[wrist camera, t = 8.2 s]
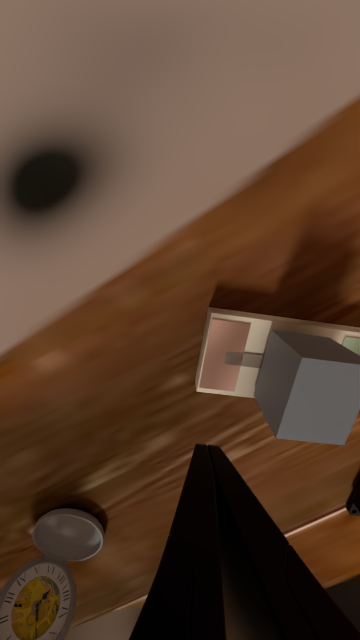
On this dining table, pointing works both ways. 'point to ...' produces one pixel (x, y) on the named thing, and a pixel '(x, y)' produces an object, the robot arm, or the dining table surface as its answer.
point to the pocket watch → (49, 577)
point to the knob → (309, 388)
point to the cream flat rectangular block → (251, 347)
